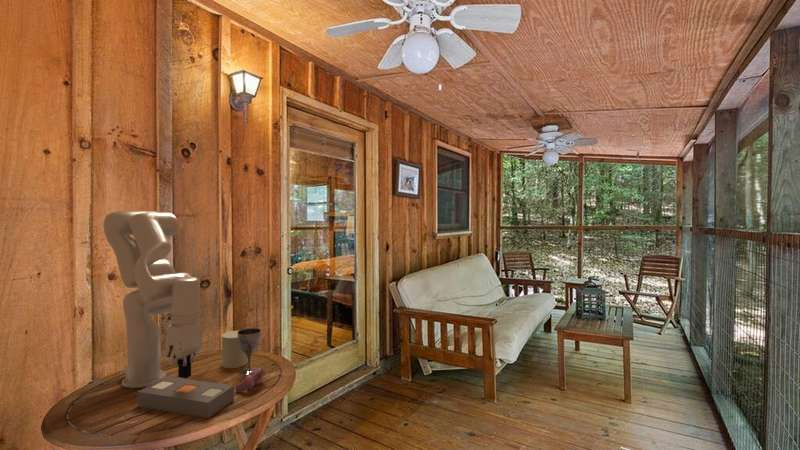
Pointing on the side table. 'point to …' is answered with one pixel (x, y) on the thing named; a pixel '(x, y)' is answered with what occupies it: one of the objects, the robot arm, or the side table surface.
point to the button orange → (186, 389)
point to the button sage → (211, 392)
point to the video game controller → (250, 380)
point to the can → (232, 351)
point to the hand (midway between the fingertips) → (184, 376)
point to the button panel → (186, 397)
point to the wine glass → (248, 345)
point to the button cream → (162, 385)
